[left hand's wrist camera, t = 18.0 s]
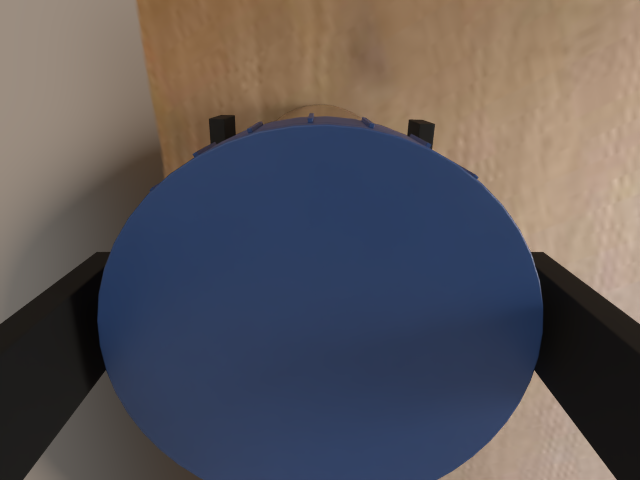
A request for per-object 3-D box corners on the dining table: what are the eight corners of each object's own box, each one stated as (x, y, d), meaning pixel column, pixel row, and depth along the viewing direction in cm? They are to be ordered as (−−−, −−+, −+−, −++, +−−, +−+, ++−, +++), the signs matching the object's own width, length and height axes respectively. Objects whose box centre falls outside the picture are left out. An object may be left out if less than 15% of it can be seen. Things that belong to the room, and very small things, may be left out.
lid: (68, 327, 13) (15, 378, 10) (288, 14, 10) (279, -7, 7) (340, 491, 15) (344, 562, 13) (583, 279, 12) (642, 323, 10)
